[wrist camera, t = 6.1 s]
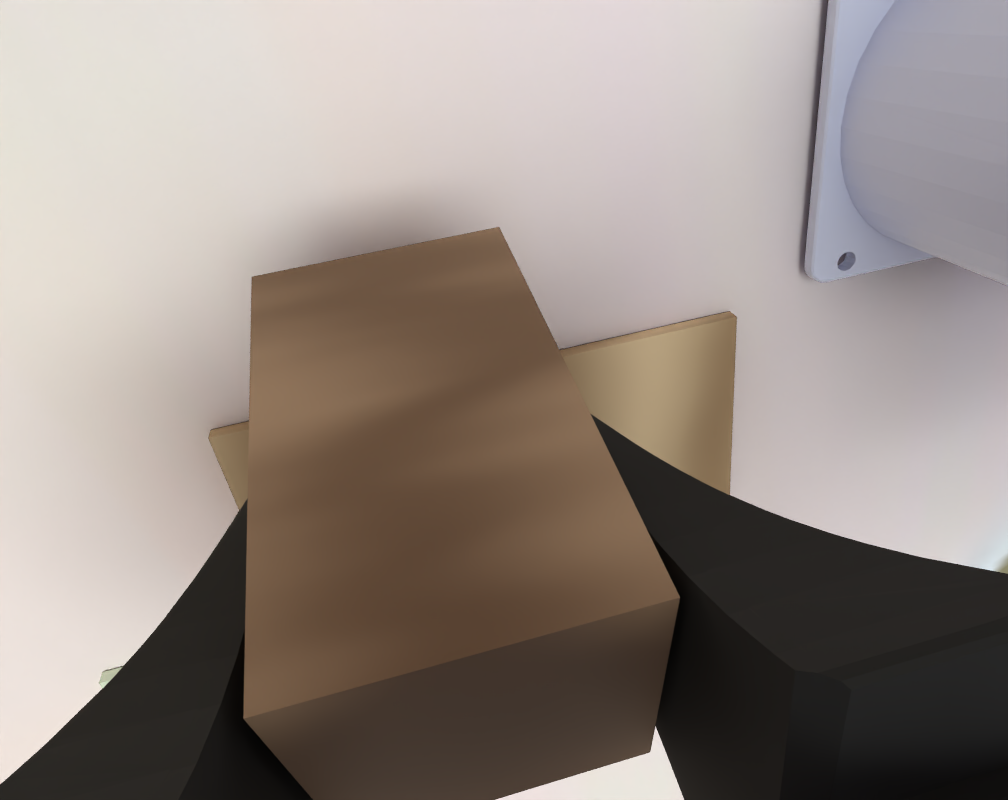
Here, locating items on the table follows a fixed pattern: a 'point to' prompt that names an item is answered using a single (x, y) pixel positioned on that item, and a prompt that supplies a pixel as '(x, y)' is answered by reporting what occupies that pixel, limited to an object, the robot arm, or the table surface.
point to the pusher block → (437, 537)
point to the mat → (623, 398)
